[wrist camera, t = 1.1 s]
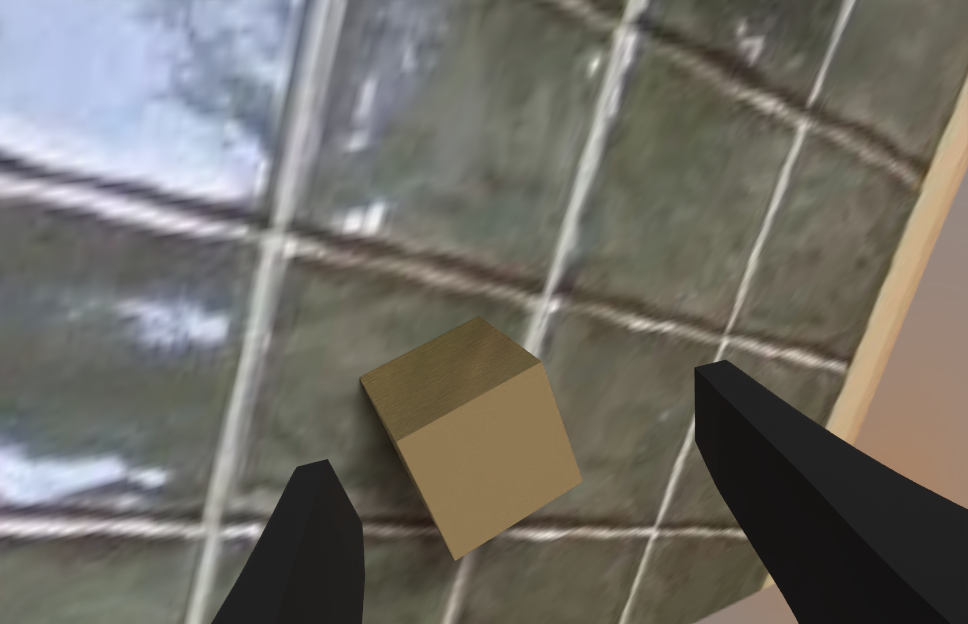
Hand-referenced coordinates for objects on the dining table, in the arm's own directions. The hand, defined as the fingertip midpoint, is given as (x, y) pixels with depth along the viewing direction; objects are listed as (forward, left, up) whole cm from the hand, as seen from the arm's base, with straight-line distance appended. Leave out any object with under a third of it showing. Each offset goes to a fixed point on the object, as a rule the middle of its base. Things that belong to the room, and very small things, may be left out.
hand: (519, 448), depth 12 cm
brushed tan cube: (-4, -2, -11) cm, 12 cm away
